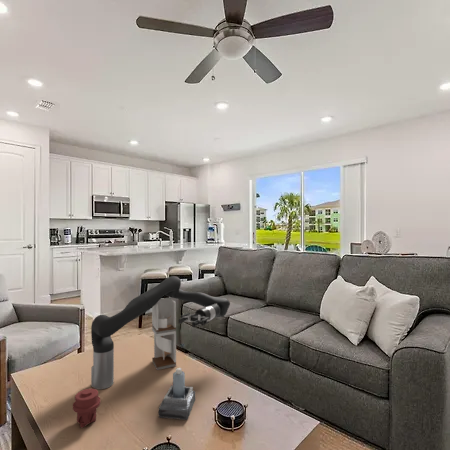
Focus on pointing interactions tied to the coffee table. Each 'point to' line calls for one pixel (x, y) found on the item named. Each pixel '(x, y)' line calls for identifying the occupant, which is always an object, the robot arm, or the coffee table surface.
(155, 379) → the coffee table surface
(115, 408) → the coffee table surface
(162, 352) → the white shelf unit
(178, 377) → the pale blue squeeze bottle
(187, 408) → the square grey open box
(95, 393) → the mechanical component
